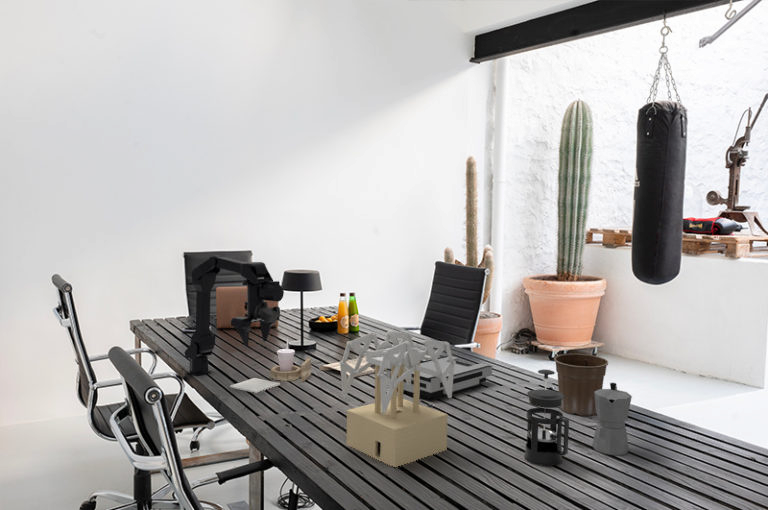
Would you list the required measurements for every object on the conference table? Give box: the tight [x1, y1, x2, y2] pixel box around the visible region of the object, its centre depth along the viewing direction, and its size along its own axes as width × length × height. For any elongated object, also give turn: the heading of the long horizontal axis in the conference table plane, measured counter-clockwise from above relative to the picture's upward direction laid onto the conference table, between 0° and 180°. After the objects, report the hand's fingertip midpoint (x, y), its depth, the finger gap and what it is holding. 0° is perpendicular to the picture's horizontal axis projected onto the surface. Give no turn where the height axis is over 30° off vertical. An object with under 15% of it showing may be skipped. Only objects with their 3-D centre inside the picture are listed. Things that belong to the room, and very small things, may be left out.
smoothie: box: [276, 338, 296, 372], centre depth 242 cm, size 6×6×14 cm
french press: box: [524, 369, 570, 467], centre depth 168 cm, size 12×9×23 cm
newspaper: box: [318, 356, 386, 379], centre depth 260 cm, size 37×19×3 cm, turn 132°
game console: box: [385, 355, 493, 402], centre depth 232 cm, size 21×32×8 cm, turn 133°
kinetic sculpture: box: [339, 330, 456, 468], centre depth 175 cm, size 25×20×30 cm
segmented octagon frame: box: [270, 357, 312, 382], centre depth 242 cm, size 13×10×6 cm
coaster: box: [229, 377, 281, 394], centre depth 230 cm, size 12×12×1 cm
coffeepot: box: [591, 382, 633, 456], centre depth 177 cm, size 15×9×18 cm, turn 159°
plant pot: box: [553, 353, 609, 416], centre depth 208 cm, size 16×16×16 cm
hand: (255, 343), depth 230 cm, fingers open, 9 cm apart
